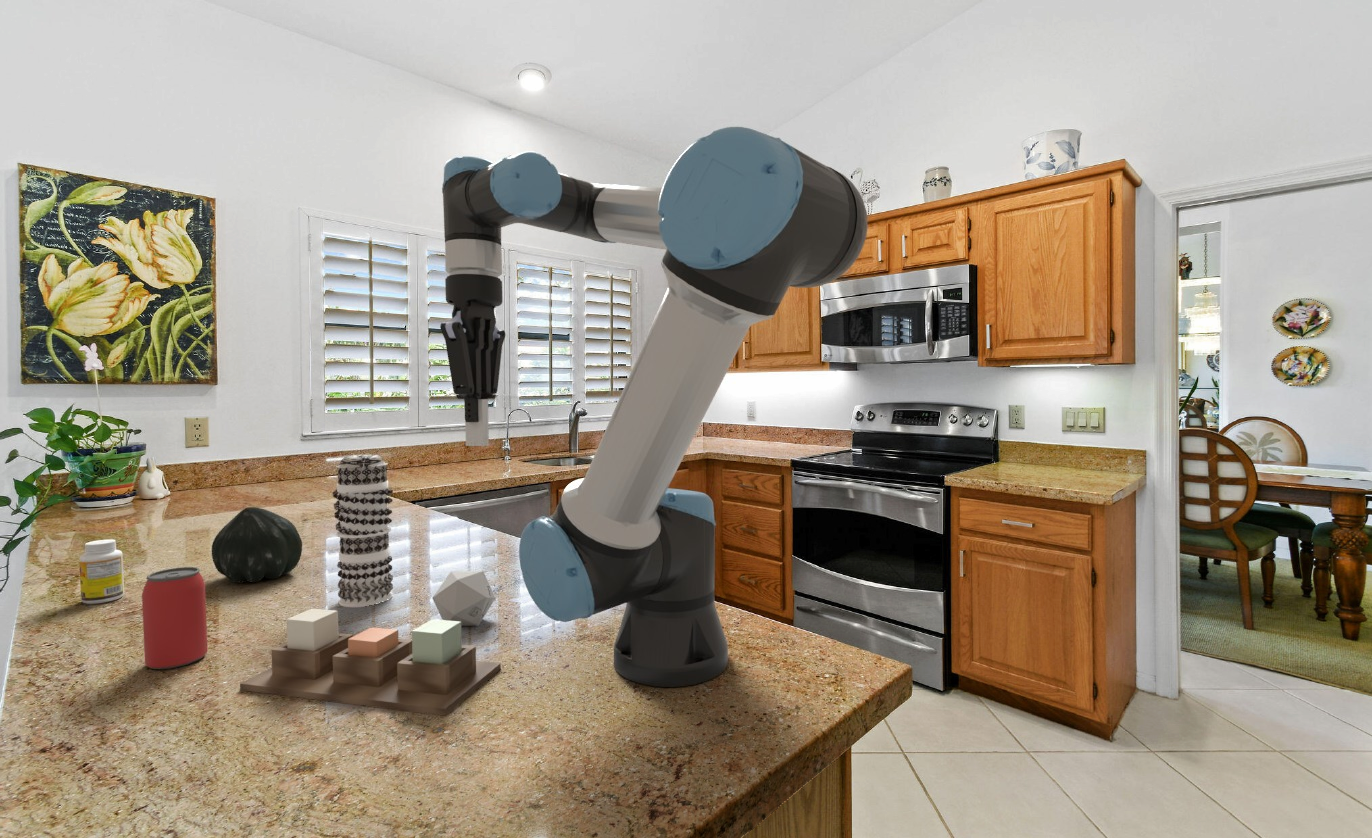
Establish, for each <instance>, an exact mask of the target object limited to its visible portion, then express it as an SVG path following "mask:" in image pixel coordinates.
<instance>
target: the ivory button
mask: <svg viewBox="0 0 1372 838" xmlns="http://www.w3.org/2000/svg"><path fill="white" fill-rule="evenodd" d="M338 633H339V611H338V610H333V609H332V610H331V609H322V608H321V609H320V608H310V609H307V610H305V611H303V612H301V613H298V614H296V615H293V616H291V617H288V618H286V636H287V637H286V638H287V639H286V641H287V642H286V643H287V648H291V649H300V650H310V651H315V650H317V649H319V648H321V647H323V646H325V645H327V644H329V643H331V642H333V641H335V640H337V639H339V634H338Z"/></svg>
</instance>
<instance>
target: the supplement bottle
mask: <svg viewBox="0 0 1372 838" xmlns="http://www.w3.org/2000/svg"><path fill="white" fill-rule="evenodd" d="M84 552H85V553H83V554H82V555H81V556H80V557H79V558H78V561H79V562H78V563H79V565H78V566H79V579H80V580H79V582H80V584H79V585H80V599H81V602H82V603H83V604H87V605H98V604H104V603H109V602H113V601H116V600H119V599H121V598H122V597H124V595H125V577H124V561H123V560H124V559H123V558H124V557H123V556H124V554H123V552H122V551H121V550H119V549H117V541H116V539H112V538H111V539H109V538H108V539H100V540H99V539H98V540H93V541H89V542H86V543H84Z"/></svg>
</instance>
